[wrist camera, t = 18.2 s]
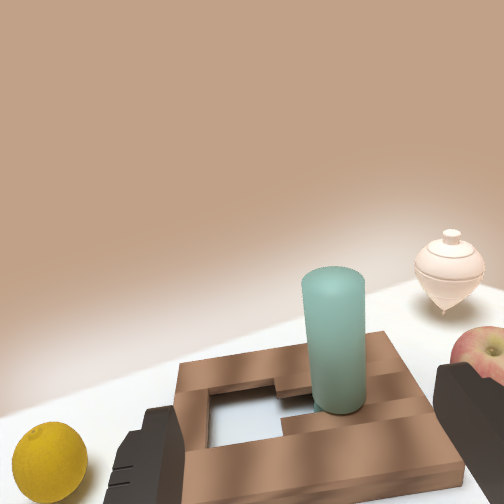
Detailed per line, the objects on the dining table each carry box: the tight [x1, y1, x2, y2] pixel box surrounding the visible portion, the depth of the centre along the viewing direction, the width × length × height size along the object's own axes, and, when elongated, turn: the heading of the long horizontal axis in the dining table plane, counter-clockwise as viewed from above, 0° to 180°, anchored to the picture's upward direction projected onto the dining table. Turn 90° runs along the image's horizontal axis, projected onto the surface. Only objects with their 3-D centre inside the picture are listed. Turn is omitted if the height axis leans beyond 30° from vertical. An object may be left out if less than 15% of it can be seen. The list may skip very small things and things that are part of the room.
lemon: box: [12, 422, 88, 503], centre depth 32 cm, size 6×6×8 cm
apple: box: [450, 326, 504, 386], centre depth 34 cm, size 8×8×8 cm
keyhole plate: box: [173, 331, 465, 504], centre depth 36 cm, size 24×16×3 cm, turn 94°
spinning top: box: [414, 229, 485, 315], centre depth 46 cm, size 8×8×12 cm
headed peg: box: [302, 266, 366, 414], centre depth 33 cm, size 5×5×16 cm
